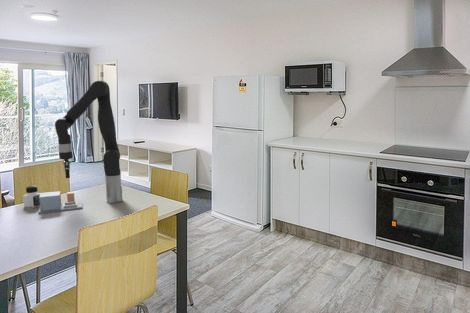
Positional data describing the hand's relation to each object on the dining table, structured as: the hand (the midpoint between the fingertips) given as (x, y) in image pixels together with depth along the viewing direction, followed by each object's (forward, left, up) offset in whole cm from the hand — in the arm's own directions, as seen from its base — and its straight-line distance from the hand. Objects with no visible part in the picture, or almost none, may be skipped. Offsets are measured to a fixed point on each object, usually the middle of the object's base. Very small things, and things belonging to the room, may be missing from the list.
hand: (67, 176), depth 221 cm
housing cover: (+10, +11, -15) cm, 21 cm away
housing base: (+4, +11, -17) cm, 20 cm away
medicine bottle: (+20, -2, -17) cm, 26 cm away
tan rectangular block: (-1, -1, -17) cm, 17 cm away
